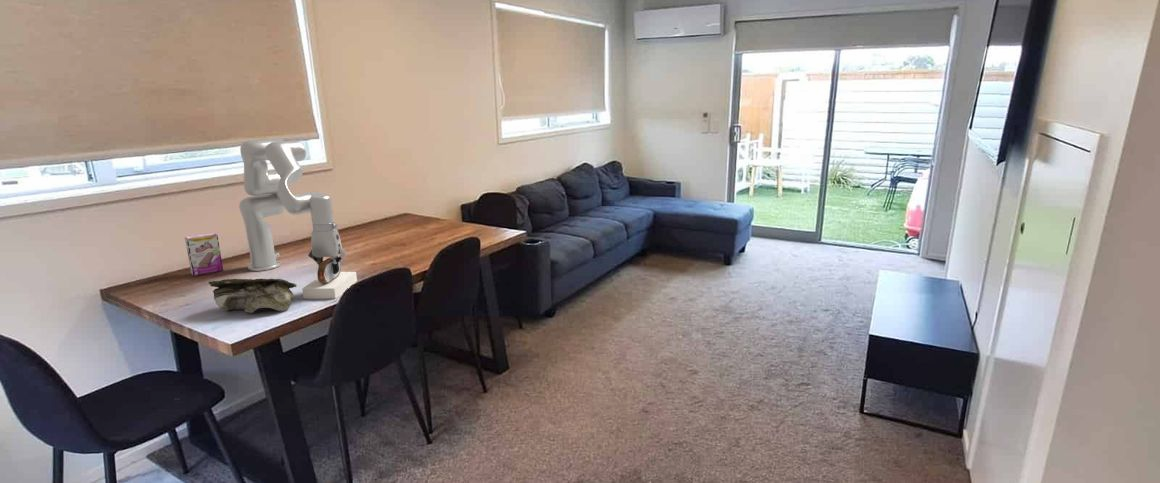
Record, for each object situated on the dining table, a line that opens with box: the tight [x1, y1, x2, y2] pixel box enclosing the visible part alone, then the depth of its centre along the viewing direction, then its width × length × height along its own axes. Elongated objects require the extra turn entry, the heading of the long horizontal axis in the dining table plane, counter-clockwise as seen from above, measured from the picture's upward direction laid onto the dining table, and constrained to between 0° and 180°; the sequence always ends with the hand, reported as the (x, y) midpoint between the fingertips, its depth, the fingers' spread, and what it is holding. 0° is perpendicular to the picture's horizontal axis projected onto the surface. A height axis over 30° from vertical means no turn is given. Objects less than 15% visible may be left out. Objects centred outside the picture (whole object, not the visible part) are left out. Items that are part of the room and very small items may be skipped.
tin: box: [316, 257, 342, 283], centre depth 213 cm, size 15×3×8 cm, turn 179°
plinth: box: [302, 271, 358, 300], centre depth 215 cm, size 20×12×4 cm, turn 179°
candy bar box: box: [184, 232, 224, 277], centre depth 234 cm, size 11×5×16 cm, turn 135°
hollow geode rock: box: [207, 278, 298, 313], centre depth 193 cm, size 28×13×15 cm
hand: (329, 272), depth 213 cm, fingers open, 4 cm apart
